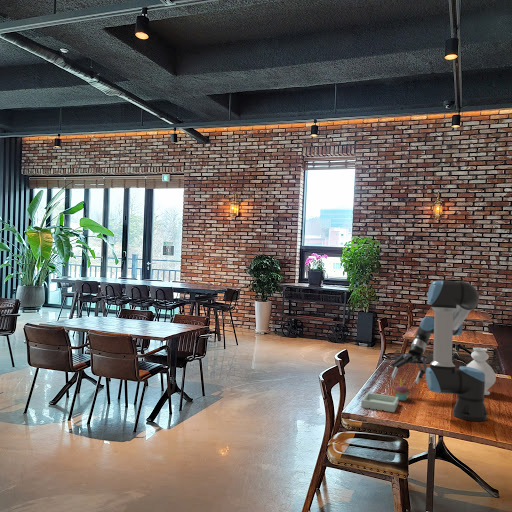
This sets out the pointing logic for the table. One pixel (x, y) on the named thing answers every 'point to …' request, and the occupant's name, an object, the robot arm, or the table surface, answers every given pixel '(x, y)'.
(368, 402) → the tray
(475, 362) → the decorative vase
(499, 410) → the table surface
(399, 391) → the cupcake
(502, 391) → the table surface
